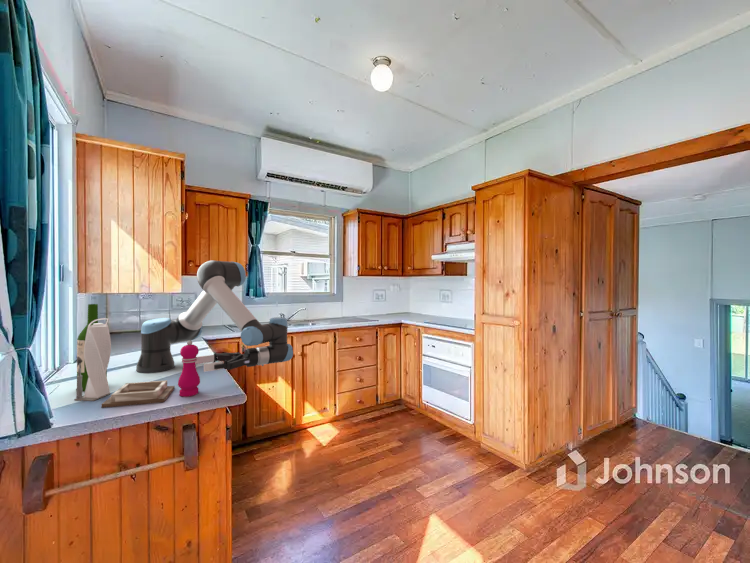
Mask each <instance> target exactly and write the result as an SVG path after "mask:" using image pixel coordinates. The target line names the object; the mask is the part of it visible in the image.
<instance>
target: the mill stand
mask: <svg viewBox="0 0 750 563" xmlns="http://www.w3.org/2000/svg"><path fill="white" fill-rule="evenodd" d="M175 387H176V386H175V385H168V380H167V379H166V380H155V381H154V380H153V381H152V380H151V381H140V382H139V381H137V382H127V383H124V384H123V385H122V386H120V387H119V388H118V389H117V390H115V391H114V392H113V393H112V394H110V397H108V398H107V399H106V400H105V401H103V402H102V403H101V408H112V407H125V406H135V405H136V406H137V405H147V404H148V405H149V404H158V403H165V401H166V400H167V399H168V398H169V397H170V395H171V394H172V393H173V391H174V390H175V389H176V388H175Z"/></svg>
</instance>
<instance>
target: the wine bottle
mask: <svg viewBox="0 0 750 563" xmlns="http://www.w3.org/2000/svg"><path fill="white" fill-rule="evenodd" d="M96 319H99V305H98V303H88V304H87V323H86V325H85V327H84V328H83V329H82V331H80V333H79V334H78V337H77V338H76V339H77V340H76V341H77V342H76V343H77V344H76V377H77V376H78V369H79V364H80V368H81V375H82V388H83V391H82V392H85V390H86V385H87V381H88V374H87V370H86V365H85V358H84V345H85V338H86V333H87V328H88V325H89V324H90V323H91V322H92V321H94V320H96ZM94 323H99V320H97V321H95V322H93V323H92V324H91V325H93V324H94ZM91 325H90V326H91ZM106 377H107V378H108V369H107V370H106Z"/></svg>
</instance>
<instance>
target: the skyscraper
mask: <svg viewBox="0 0 750 563" xmlns="http://www.w3.org/2000/svg"><path fill="white" fill-rule="evenodd" d="M97 320H98V321H102V320H106V321H105V323H103V322H98V323H94V324H93V325H91V324H92V323H93V322H95V321H97ZM109 320H110V319H109V318H107V317H101V318H98V319H96V320H94V321H92V322H91V323H90V324H89V325H88V328H87V333H86V338H85V345H84V358H85V365H86V370H87V374H88V381H87V385H86V390H85V391H83V388H82V375H81V368H80V364H79V369H78V376H77V375H76V388H75V391H76V392H75V393H76V397H75V398H74V401H78V400H80V401H81V400H83V401H84V402H85V401H86V402H87V401H89V402H95V401H97V400H99V398H100V399H103V398H105V397H107V396H109V395H111V391H110V386H109V381H108V376H107V377H106V370H107V371H108V366H109V364H110V359H111V352H112V344H111V343H112V340H111V334H110V333H111V332H110V329H109V324H108V322H109ZM90 325H91V326H90ZM83 392H84V394H83ZM106 395H107V396H106ZM104 396H105V397H104ZM81 402H82V401H81Z"/></svg>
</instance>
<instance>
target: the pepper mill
mask: <svg viewBox="0 0 750 563" xmlns="http://www.w3.org/2000/svg"><path fill="white" fill-rule="evenodd" d="M179 352H180V353H179V354H180V357H182V358H181V363H182V371H181V373H180V376H179V378H178V381H177V386H178V387H179V388H180V390H179V392H178V394H179V397H183V398H185V397H193V396H196V395H198V394H199V390H200V389H199V387H198V386H199V385H200V384H201V377H200V375H199V373H198V371H197V367H196V366H197V364H196V361H197V357H198V354H199V353H200V350H199V348H198V346H197V345H195V344H193V340H192V341H190V340H189V341H186V345H184V346H182V347H181V349H180V351H179Z"/></svg>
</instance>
